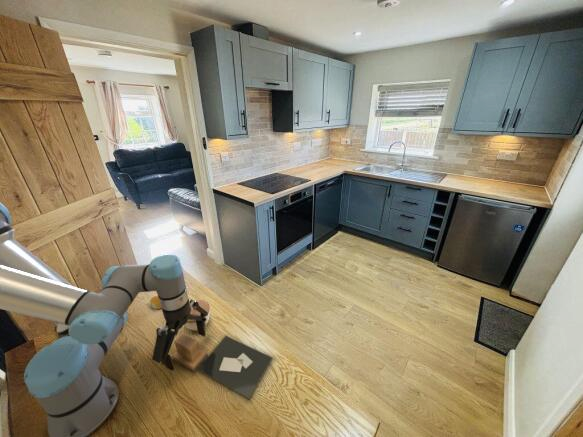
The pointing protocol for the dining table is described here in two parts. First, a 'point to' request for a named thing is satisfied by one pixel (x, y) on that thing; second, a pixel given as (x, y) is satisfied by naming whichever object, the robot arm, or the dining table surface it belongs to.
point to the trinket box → (192, 323)
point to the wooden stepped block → (188, 353)
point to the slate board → (236, 366)
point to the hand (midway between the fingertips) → (187, 350)
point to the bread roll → (155, 302)
